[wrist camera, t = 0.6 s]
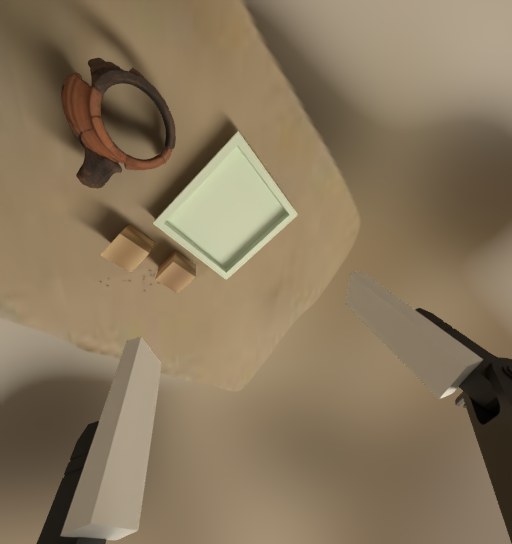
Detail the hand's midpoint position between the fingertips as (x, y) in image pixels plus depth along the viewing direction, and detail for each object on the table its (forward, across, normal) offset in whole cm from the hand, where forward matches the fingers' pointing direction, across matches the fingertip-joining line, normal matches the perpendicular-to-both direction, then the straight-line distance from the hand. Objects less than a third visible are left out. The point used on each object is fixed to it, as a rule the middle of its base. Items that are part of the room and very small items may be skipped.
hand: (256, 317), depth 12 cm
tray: (+22, +2, 0) cm, 22 cm away
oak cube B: (+22, -9, -6) cm, 24 cm away
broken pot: (+23, -10, +12) cm, 28 cm away
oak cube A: (+22, -13, -1) cm, 26 cm away
